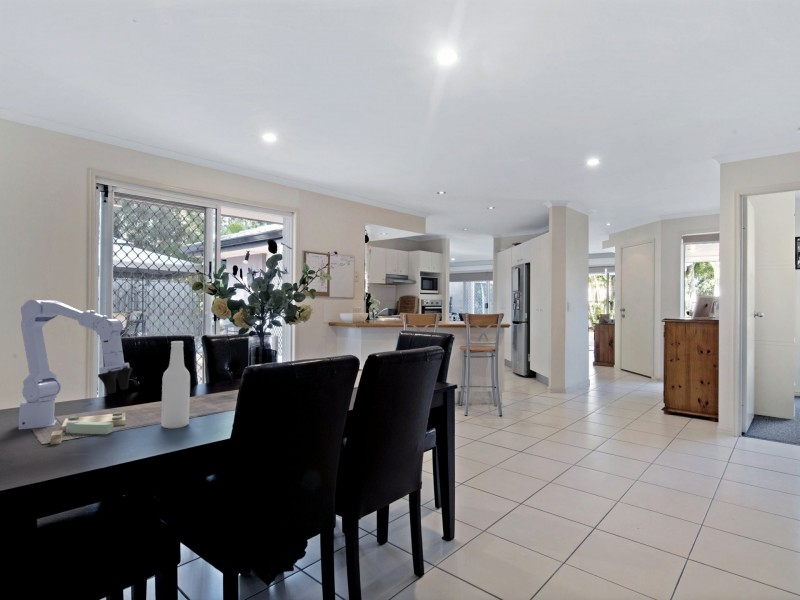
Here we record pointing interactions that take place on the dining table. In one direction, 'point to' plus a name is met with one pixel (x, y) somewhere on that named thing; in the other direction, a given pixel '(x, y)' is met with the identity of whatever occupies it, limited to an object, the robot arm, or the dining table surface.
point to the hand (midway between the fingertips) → (118, 391)
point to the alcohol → (175, 390)
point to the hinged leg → (89, 427)
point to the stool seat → (113, 418)
